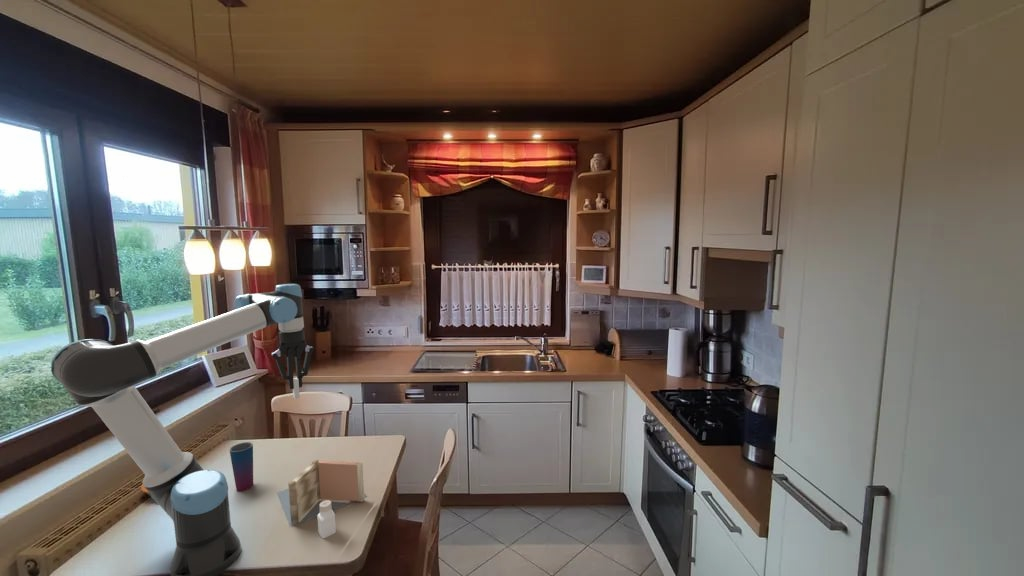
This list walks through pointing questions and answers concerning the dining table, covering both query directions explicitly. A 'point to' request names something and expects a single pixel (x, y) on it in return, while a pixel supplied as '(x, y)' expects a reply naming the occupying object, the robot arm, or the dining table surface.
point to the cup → (242, 465)
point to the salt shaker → (326, 519)
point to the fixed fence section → (304, 492)
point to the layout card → (313, 510)
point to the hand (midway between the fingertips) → (296, 397)
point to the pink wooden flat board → (341, 480)
